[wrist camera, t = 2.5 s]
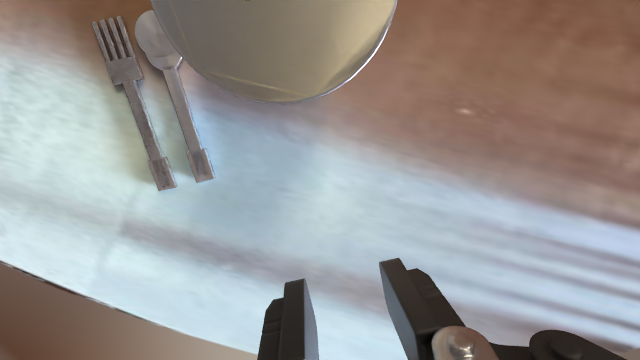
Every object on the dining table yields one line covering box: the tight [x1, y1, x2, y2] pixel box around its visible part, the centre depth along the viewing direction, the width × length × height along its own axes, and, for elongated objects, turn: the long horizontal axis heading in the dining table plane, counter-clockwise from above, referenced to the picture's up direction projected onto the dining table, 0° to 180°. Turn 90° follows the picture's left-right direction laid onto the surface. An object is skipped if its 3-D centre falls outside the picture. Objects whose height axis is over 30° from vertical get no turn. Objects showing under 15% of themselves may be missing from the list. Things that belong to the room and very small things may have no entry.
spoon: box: [135, 10, 215, 183], centre depth 29 cm, size 16×4×1 cm, turn 12°
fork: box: [91, 16, 177, 191], centre depth 29 cm, size 16×3×1 cm, turn 12°
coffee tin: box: [150, 0, 397, 105], centre depth 22 cm, size 13×13×13 cm
